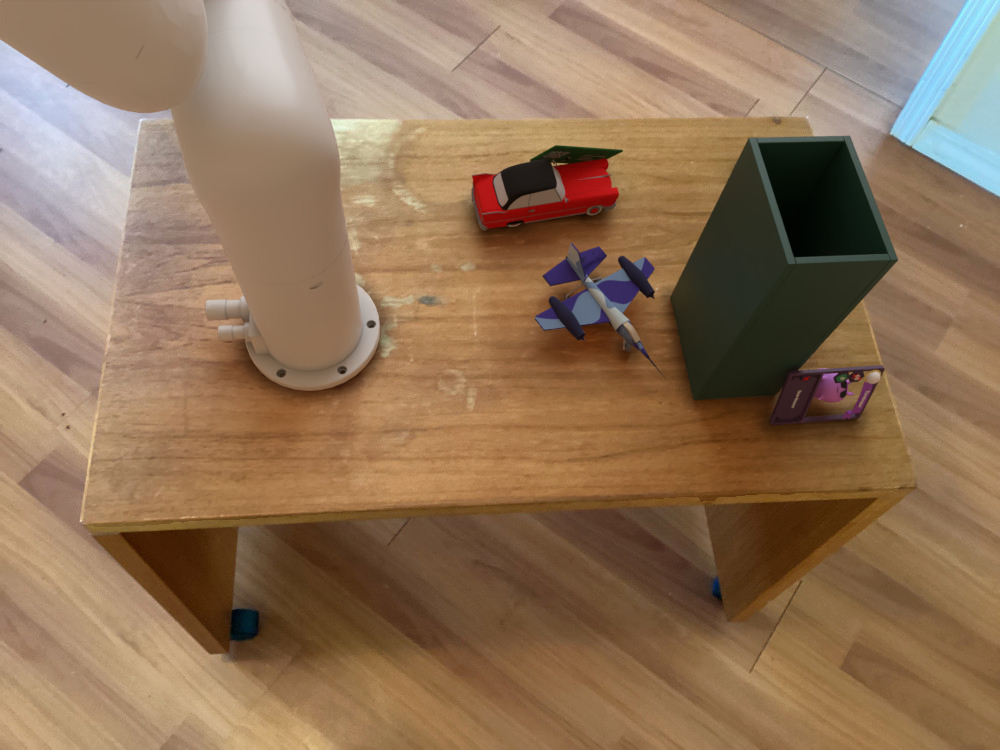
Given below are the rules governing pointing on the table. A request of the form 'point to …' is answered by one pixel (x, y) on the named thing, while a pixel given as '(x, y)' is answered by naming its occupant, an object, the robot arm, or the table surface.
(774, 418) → the game card
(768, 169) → the bin
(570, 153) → the business card
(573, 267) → the toy airplane
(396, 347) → the table surface
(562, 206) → the toy car
